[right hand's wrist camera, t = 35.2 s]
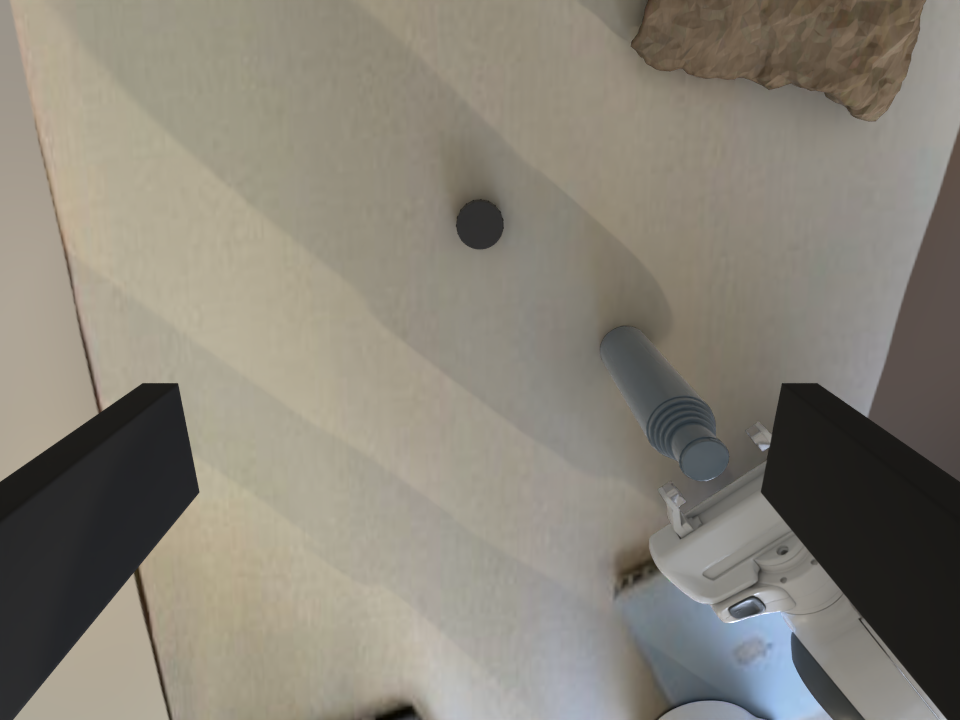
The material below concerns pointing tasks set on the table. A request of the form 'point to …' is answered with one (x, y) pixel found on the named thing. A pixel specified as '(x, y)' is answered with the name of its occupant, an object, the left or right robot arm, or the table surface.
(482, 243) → the cap
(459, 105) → the table surface
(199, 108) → the table surface
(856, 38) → the stone
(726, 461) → the bottle
